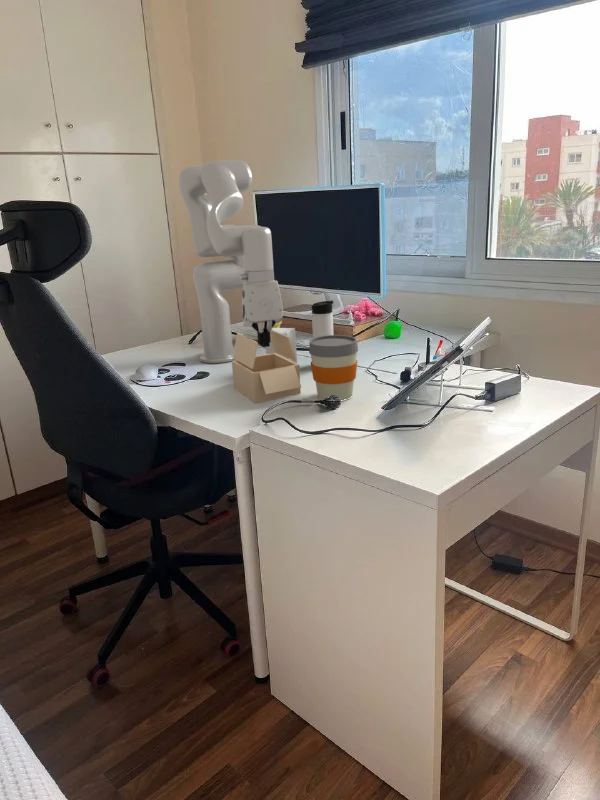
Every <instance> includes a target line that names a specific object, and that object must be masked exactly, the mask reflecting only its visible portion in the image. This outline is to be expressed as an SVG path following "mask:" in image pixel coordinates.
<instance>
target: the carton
mask: <svg viewBox="0 0 600 800" xmlns="http://www.w3.org/2000/svg"><path fill="white" fill-rule="evenodd" d="M231 367H232V368H231V369H232V378H233V379H232V380H233V388H234V389H235V390H236V391H237V392H239V393H240V394H242V395H243V396H244V397H246V398H247V399H249V400H250V401H252V402H254V403H255V404H258V403H262V402H266V401H272V400H276V399H280V398H286V397H291V396H295V395H301V394H302V393H301V388H302V386H301V375H300V373H301V372H300V364H298V363H297V364H296V363H294V362H292V361H290V360H288V359H286V358H284V357H282V356H280V355H278V354H276V353H273V354H266V353H264V354H259V355H256V357H255V363H254V369H251V368H249V367H248V366H246V365H244V364H243V363H241V362H239V361H237V360H236V359H235V360H233V361H231ZM300 393H301V394H300Z"/></svg>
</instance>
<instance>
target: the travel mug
mask: <svg viewBox="0 0 600 800" xmlns="http://www.w3.org/2000/svg"><path fill="white" fill-rule="evenodd" d="M333 304H334V300H324V301H318V302H315V303H313V304H312V305H311V323H312V324H311V326H312V328H311V329H312V339H313V338H316V337H321V336H327V335H334V316H333V315H334V312H333Z"/></svg>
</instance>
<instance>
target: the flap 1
mask: <svg viewBox="0 0 600 800" xmlns="http://www.w3.org/2000/svg"><path fill="white" fill-rule="evenodd" d="M258 345H259V343H258V341H256V340H254V339H252V338H250V337H248V336H245V335H244V334H242V333H239V332H236V338H235V342H234V348H233V351H234V355H233V358H234V359H235V360H237V361H239V362H241V363H243V364H244V365H246V366H248V367H249V368H251V369H254V363H255V357H256V356H257V350H258Z"/></svg>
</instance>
